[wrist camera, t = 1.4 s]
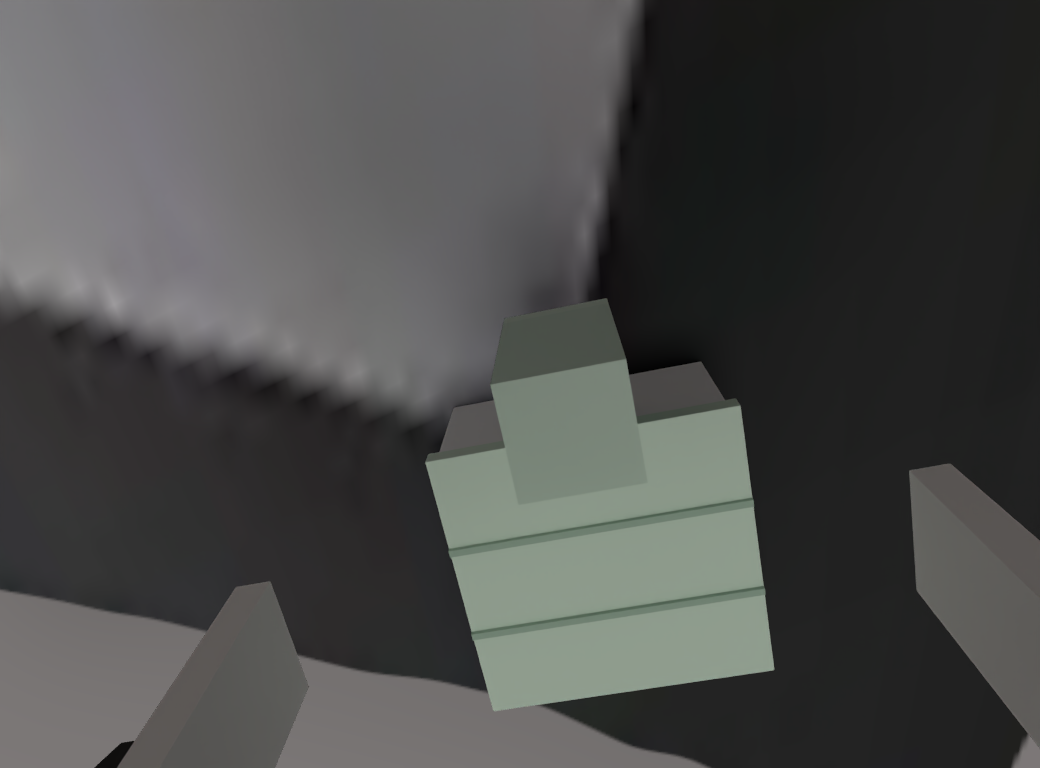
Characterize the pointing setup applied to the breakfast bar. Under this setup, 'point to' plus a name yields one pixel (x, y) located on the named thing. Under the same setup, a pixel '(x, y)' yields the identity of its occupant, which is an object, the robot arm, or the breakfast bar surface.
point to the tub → (648, 393)
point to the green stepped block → (600, 526)
